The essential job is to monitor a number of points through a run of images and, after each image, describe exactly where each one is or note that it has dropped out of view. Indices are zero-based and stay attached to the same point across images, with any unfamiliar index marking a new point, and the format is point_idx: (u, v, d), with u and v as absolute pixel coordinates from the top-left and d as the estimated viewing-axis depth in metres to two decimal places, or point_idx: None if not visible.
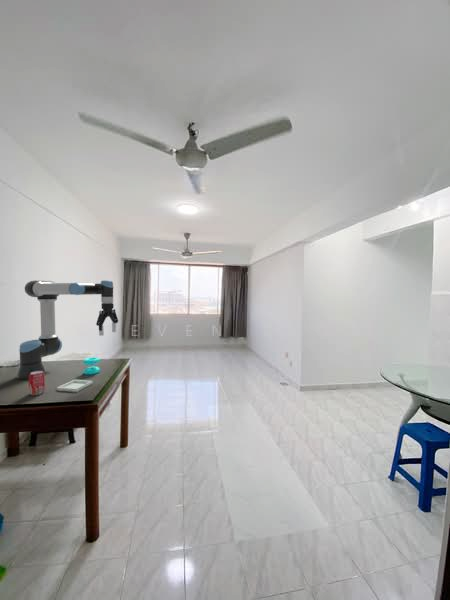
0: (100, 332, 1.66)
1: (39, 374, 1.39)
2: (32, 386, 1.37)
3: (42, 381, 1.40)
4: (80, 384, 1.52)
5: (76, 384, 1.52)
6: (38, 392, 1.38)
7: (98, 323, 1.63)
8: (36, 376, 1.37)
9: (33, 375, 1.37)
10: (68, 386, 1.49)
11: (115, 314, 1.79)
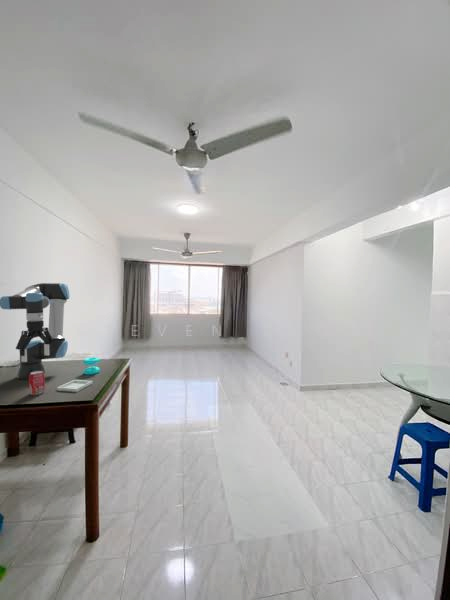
0: (22, 357, 1.33)
1: (39, 374, 1.39)
2: (32, 386, 1.37)
3: (42, 381, 1.40)
4: (80, 384, 1.52)
5: (76, 384, 1.52)
6: (38, 392, 1.38)
7: (18, 347, 1.30)
8: (36, 376, 1.37)
9: (33, 375, 1.37)
10: (68, 386, 1.49)
11: (48, 333, 1.46)
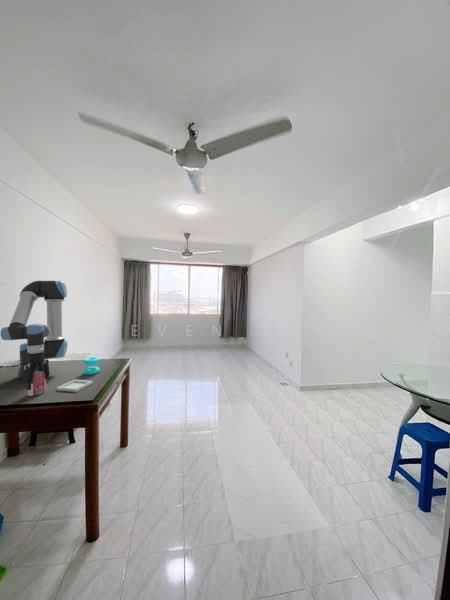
0: (28, 391, 1.36)
1: (39, 374, 1.39)
2: None
3: (42, 381, 1.40)
4: (80, 384, 1.52)
5: (76, 384, 1.52)
6: (38, 392, 1.38)
7: (25, 382, 1.33)
8: (36, 376, 1.37)
9: None
10: (68, 386, 1.49)
11: (47, 366, 1.45)
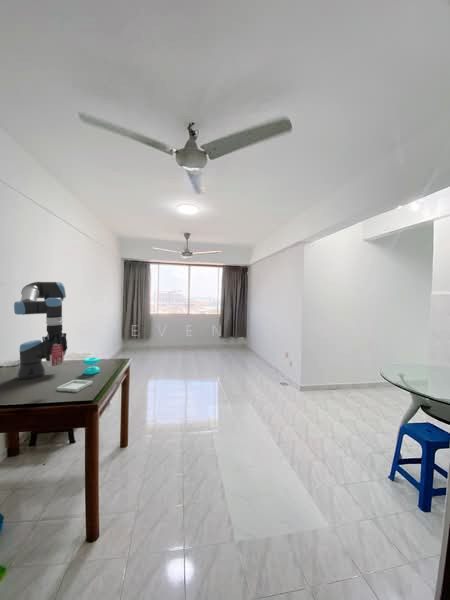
0: (47, 362, 1.40)
1: (57, 346, 1.42)
2: None
3: (60, 353, 1.43)
4: (80, 384, 1.52)
5: (76, 384, 1.52)
6: (56, 363, 1.42)
7: (44, 352, 1.37)
8: (54, 348, 1.41)
9: (52, 347, 1.41)
10: (68, 386, 1.49)
11: (65, 339, 1.49)
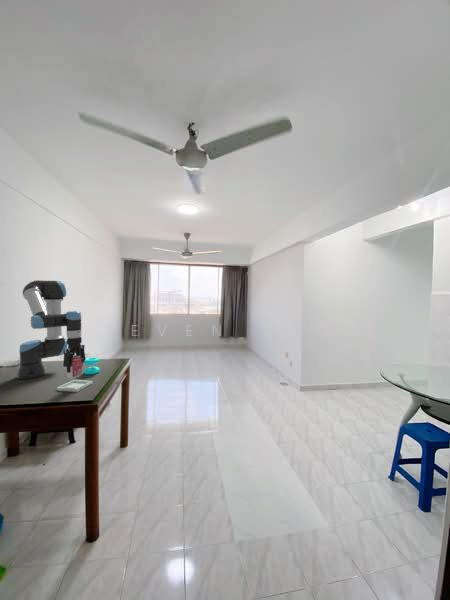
0: (68, 373, 1.45)
1: (77, 358, 1.48)
2: None
3: (80, 364, 1.49)
4: (80, 384, 1.52)
5: (76, 384, 1.52)
6: (77, 375, 1.47)
7: (65, 364, 1.42)
8: (75, 359, 1.46)
9: None
10: (68, 386, 1.49)
11: (83, 351, 1.54)
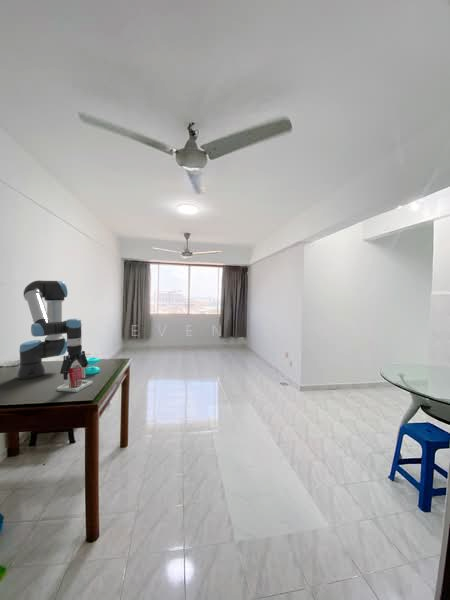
0: (65, 380, 1.43)
1: (77, 368, 1.48)
2: (71, 379, 1.46)
3: (80, 375, 1.49)
4: None
5: None
6: (77, 385, 1.47)
7: (62, 372, 1.40)
8: (75, 370, 1.47)
9: (72, 369, 1.46)
10: (68, 386, 1.49)
11: (84, 356, 1.55)
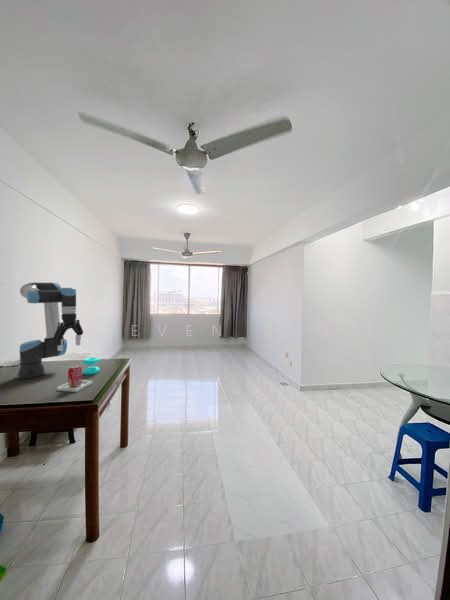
0: (58, 346, 1.45)
1: (77, 368, 1.48)
2: (71, 379, 1.46)
3: (80, 375, 1.49)
4: None
5: None
6: (77, 385, 1.47)
7: (56, 337, 1.42)
8: (75, 370, 1.47)
9: (72, 369, 1.46)
10: (68, 386, 1.49)
11: (79, 325, 1.58)
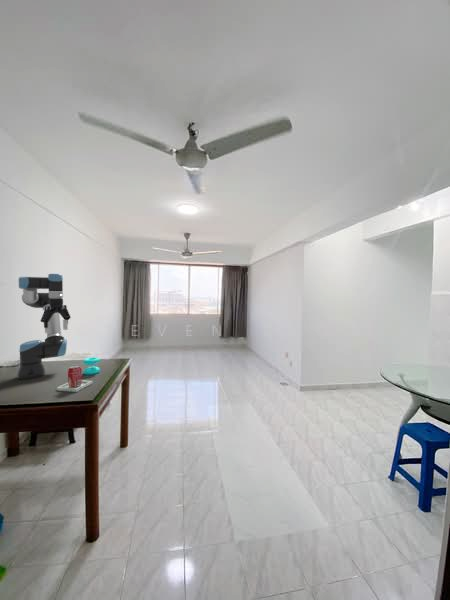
0: (45, 329, 1.53)
1: (77, 368, 1.48)
2: (71, 379, 1.46)
3: (80, 375, 1.49)
4: None
5: None
6: (77, 385, 1.47)
7: (43, 320, 1.50)
8: (75, 370, 1.47)
9: (72, 369, 1.46)
10: (68, 386, 1.49)
11: (66, 310, 1.66)
